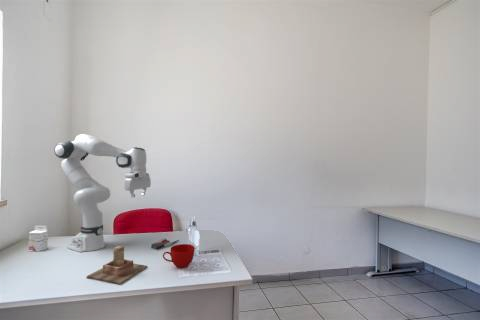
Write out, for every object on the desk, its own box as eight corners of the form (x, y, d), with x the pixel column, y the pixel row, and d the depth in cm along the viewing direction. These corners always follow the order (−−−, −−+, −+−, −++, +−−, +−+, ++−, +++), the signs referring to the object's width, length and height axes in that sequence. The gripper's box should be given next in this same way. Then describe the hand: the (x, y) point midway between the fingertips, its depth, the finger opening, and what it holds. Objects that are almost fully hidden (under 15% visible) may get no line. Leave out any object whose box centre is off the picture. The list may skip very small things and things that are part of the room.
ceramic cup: (161, 264, 146) (161, 246, 146) (191, 260, 153) (191, 242, 153) (164, 274, 134) (164, 254, 134) (196, 269, 141) (197, 250, 141)
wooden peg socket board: (86, 278, 128) (86, 268, 128) (116, 262, 147) (117, 253, 147) (120, 284, 122) (120, 274, 122) (147, 267, 141) (147, 258, 141)
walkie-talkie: (159, 251, 166) (180, 242, 184) (159, 244, 166) (180, 236, 184) (149, 249, 170) (170, 240, 188) (149, 242, 170) (170, 234, 188)
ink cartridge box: (28, 251, 161) (28, 227, 161) (34, 248, 166) (34, 225, 166) (42, 251, 161) (42, 227, 161) (48, 248, 166) (48, 225, 166)
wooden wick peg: (113, 271, 133) (113, 248, 133) (118, 268, 137) (118, 245, 137) (118, 272, 132) (119, 249, 132) (123, 269, 136) (124, 246, 136)
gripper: (145, 172, 172) (144, 193, 172) (122, 174, 153) (122, 198, 153) (153, 173, 170) (152, 194, 171) (131, 175, 151) (131, 199, 151)
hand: (138, 196), depth 162 cm, fingers open, 8 cm apart
